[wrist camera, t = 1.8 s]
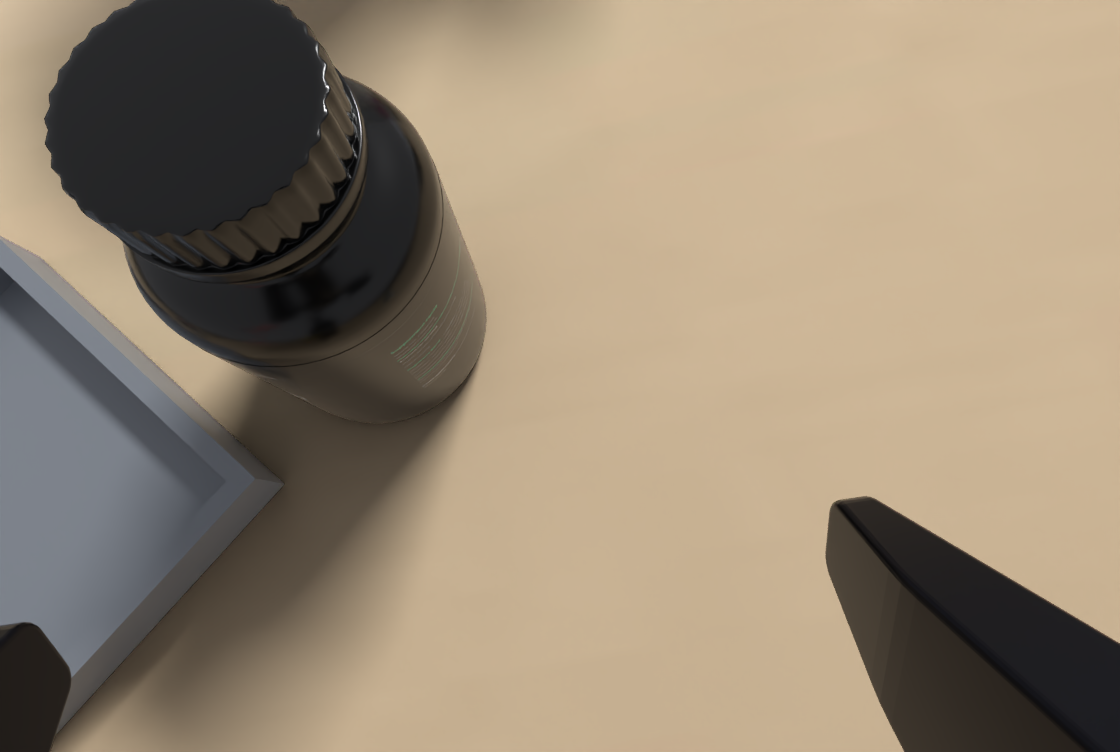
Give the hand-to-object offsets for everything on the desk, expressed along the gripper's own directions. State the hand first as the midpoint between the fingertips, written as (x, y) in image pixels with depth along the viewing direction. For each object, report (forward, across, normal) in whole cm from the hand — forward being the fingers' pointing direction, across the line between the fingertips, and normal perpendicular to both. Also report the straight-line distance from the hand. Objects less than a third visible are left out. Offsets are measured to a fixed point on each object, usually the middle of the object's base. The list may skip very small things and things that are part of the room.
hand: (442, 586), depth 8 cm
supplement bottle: (+16, +4, +4) cm, 16 cm away
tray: (+12, +16, +7) cm, 21 cm away
